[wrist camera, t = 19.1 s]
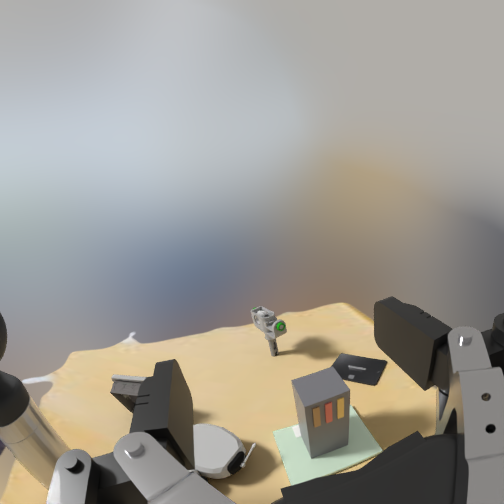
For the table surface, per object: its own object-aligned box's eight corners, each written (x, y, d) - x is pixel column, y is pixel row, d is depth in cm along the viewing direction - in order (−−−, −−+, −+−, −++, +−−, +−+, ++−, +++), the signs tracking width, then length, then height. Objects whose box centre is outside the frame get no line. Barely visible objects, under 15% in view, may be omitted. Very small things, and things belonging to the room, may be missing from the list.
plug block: (311, 459, 31) (304, 408, 27) (300, 434, 35) (291, 380, 32) (348, 445, 31) (350, 391, 28) (335, 422, 36) (332, 366, 33)
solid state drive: (375, 387, 42) (375, 384, 42) (325, 376, 49) (325, 374, 48) (387, 363, 47) (387, 360, 47) (340, 355, 54) (340, 353, 53)
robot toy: (204, 527, 22) (264, 452, 34) (190, 518, 21) (257, 437, 32) (144, 486, 29) (202, 427, 41) (129, 472, 28) (192, 411, 39)
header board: (291, 487, 27) (282, 453, 25) (273, 433, 38) (261, 392, 35) (382, 452, 28) (390, 411, 26) (350, 406, 39) (350, 363, 37)
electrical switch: (174, 404, 48) (155, 370, 45) (166, 424, 43) (143, 391, 40) (136, 400, 50) (115, 368, 46) (126, 418, 45) (102, 386, 42)
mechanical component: (282, 367, 54) (274, 325, 51) (257, 347, 63) (248, 309, 60) (294, 360, 55) (287, 319, 53) (268, 342, 64) (260, 304, 61)
